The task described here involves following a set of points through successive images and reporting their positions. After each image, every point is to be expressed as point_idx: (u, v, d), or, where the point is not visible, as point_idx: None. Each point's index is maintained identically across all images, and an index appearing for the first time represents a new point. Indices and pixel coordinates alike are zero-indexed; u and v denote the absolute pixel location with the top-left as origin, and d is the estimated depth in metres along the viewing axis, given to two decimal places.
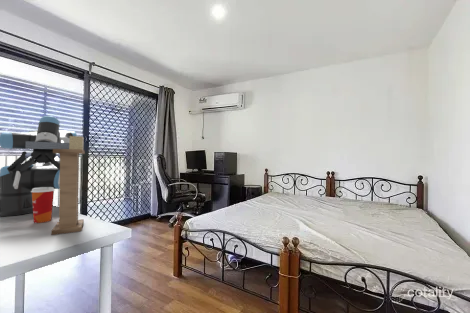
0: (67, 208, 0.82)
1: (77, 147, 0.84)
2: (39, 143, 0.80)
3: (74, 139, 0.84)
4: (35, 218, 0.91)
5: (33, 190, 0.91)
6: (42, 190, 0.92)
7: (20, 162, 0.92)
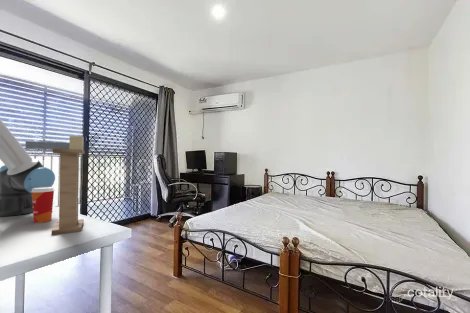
0: (67, 208, 0.82)
1: (77, 147, 0.84)
2: (39, 143, 0.80)
3: (74, 139, 0.84)
4: (35, 218, 0.91)
5: (33, 190, 0.91)
6: (42, 190, 0.92)
7: None
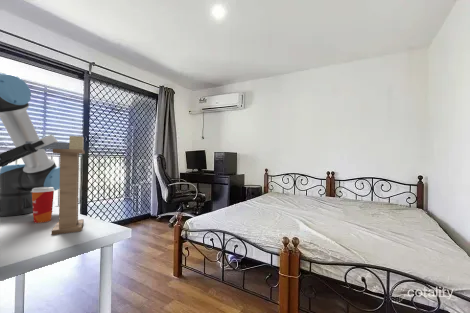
0: (67, 208, 0.82)
1: (77, 147, 0.84)
2: None
3: (74, 139, 0.84)
4: (35, 218, 0.91)
5: (33, 190, 0.91)
6: (42, 190, 0.92)
7: None
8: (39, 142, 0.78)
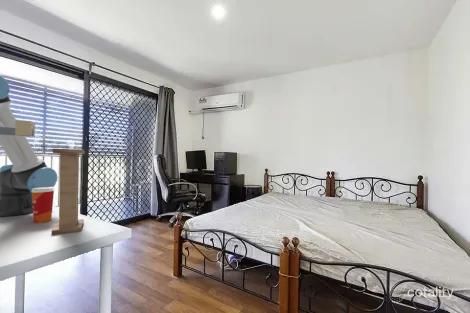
0: (67, 208, 0.82)
1: (24, 132, 0.78)
2: None
3: (21, 124, 0.78)
4: (35, 218, 0.91)
5: (33, 190, 0.91)
6: (42, 190, 0.92)
7: None
8: None
